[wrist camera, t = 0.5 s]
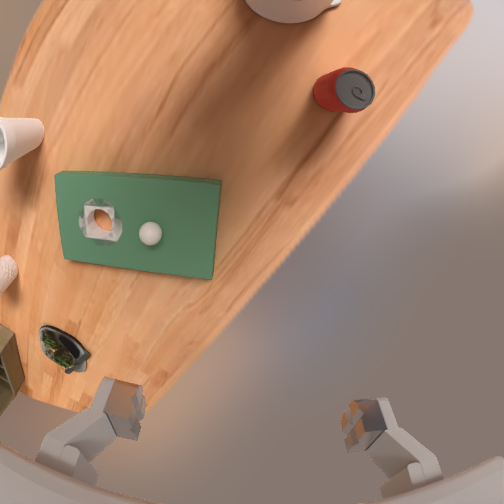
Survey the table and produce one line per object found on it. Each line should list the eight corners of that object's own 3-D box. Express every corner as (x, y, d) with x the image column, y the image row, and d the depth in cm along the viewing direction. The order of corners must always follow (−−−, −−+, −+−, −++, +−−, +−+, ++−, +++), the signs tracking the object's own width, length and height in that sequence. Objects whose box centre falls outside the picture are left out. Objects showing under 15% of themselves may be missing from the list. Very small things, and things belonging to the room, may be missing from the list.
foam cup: (50, 108, 41) (6, 115, 30) (50, 153, 46) (9, 170, 34) (18, 114, 41) (-24, 124, 29) (19, 156, 45) (-21, 173, 34)
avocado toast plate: (90, 380, 77) (86, 390, 73) (44, 356, 74) (38, 366, 69) (92, 343, 69) (86, 355, 65) (40, 317, 65) (32, 327, 61)
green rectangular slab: (62, 170, 47) (54, 174, 45) (221, 180, 50) (220, 185, 47) (70, 252, 56) (64, 258, 53) (213, 271, 58) (211, 279, 55)
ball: (143, 217, 49) (135, 226, 46) (164, 219, 49) (158, 228, 46) (143, 237, 51) (136, 247, 48) (164, 240, 51) (158, 250, 48)
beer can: (334, 119, 45) (359, 123, 34) (304, 93, 43) (321, 89, 32) (357, 92, 42) (387, 89, 31) (328, 66, 40) (351, 55, 30)
